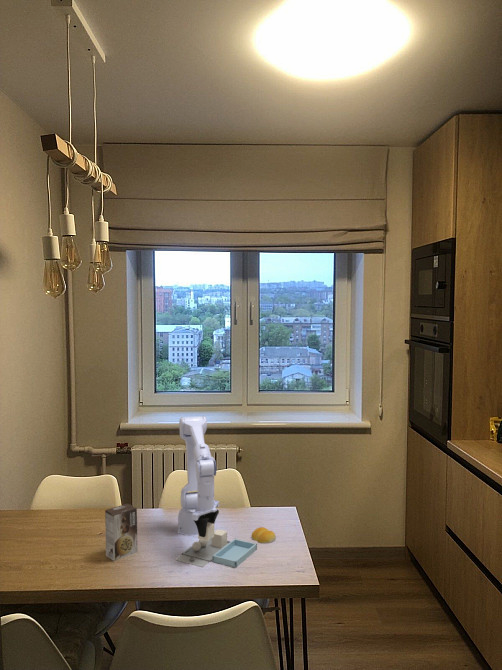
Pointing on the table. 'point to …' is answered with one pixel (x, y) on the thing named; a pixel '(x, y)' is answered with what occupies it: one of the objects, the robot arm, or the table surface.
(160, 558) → the table surface
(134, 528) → the coffee box
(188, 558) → the slate tray
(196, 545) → the pebble
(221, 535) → the stone block far
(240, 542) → the blue bin
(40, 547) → the table surface
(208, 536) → the stone block near
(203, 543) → the pebble
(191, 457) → the robot arm
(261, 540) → the bread roll
